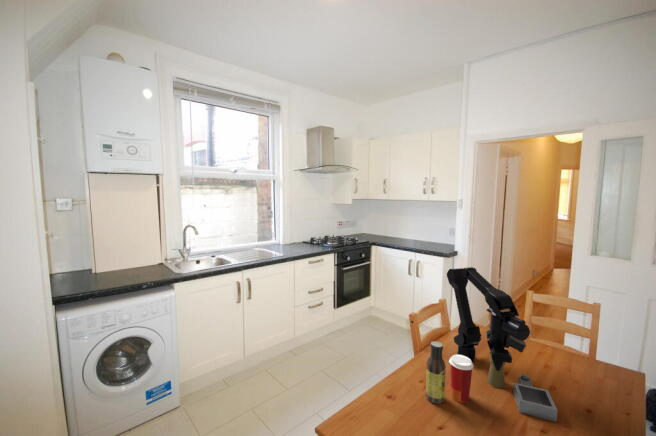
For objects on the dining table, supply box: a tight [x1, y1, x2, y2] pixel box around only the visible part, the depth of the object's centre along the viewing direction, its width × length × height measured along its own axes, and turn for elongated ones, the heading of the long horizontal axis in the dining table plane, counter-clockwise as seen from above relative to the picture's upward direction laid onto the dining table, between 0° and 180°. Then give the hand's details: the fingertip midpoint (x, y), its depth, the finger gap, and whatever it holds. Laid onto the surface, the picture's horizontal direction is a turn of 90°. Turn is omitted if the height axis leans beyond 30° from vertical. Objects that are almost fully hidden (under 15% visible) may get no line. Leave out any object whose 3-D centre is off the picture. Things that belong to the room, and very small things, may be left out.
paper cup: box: [448, 354, 475, 404], centre depth 101 cm, size 8×8×14 cm
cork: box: [486, 354, 506, 389], centre depth 109 cm, size 6×6×11 cm
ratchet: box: [512, 373, 559, 423], centre depth 101 cm, size 10×19×5 cm, turn 157°
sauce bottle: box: [425, 341, 447, 404], centre depth 100 cm, size 6×6×20 cm
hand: (496, 366), depth 109 cm, fingers closed on cork, 5 cm apart
